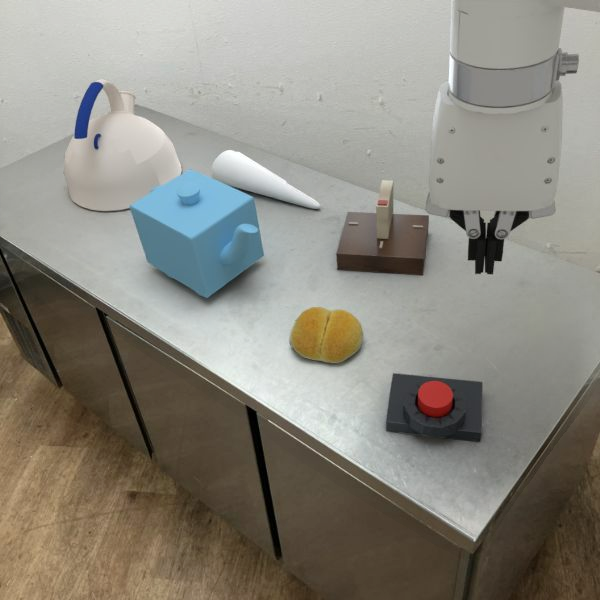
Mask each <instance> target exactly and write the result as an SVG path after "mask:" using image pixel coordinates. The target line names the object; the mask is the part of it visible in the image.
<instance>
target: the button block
mask: <svg viewBox="0 0 600 600" xmlns="http://www.w3.org/2000/svg"><path fill="white" fill-rule="evenodd" d="M429 381H439V382H443V383H445V384H446V385H448V386H449V387H450V388H451V390H452V392H453V401H452V408H451V411H450V412H449V413H448V414H447V415H445V416H443V417H439V418H433V417H429V416H427V415H425V414H423V413H422V412H421V411H420V409H419V407H418V391H419V388H420V387H421V386H422V385H423V384H424V383H426V382H429ZM385 418H386V419H385V431H386V432H392V433H399V434H409V435H415V436H416V435H417V436H422V437H423V436H424V437H431V438H438V439H450V440H459V441H466V442H467V441H468V442H475V443H480V442H481V439H482V432H483V426H482V425H483V381H477V380H466V379H457V378H446V377H435V376H425V375H415V374H406V373H392V376H391V383H390V390H389V398H388V405H387V412H386V417H385Z"/></svg>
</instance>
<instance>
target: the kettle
mask: <svg viewBox="0 0 600 600" xmlns="http://www.w3.org/2000/svg"><path fill="white" fill-rule="evenodd" d="M102 90H103V91H104V92H105V95H106V97H107V99H108V102H109V107H110V111H109V112H107V113H105V114H101V115H98V116H96V117H94V118H92V119H90V118H91V114H92V111H93V108H94V106H95V102H96V100H97V99H98V96H99V94H100V93H101V91H102ZM136 98H137V97H136V96H135V94H134V93H132V92H131V91H128V90H120V91H119V88H118V87H117V86H116V85H115V84H114V82H112V81H110V80H107V79H105V78H100V79H97V80H95V81H94V82H91V83H90V84H89V86H88V87H87V88H86V90H85V92H84V95H83V97H82V99H81V101H80V105H79V107H78V109H77V114H76V119H75V125H74V134H73V136H72V138H71V139H70V141H69V144H68V146H67V148H66V149H65V152H64V160H63V161H64V164H63V176H64V180H65V183H66V187H67V191H68V195H69V197H70V199H71V201H72V202H74V203H75V204H77V205H78V206H79V207H82V208H83V209H84V208H85V209H88V210H91V211H96V212H117V211H119V212H120V211H125V210H130V207H129V206H130V205H131V204H133V203H134V202H136V201H138V200H140V199H141V198H143V197H144V196H146V195H148V194H149V193H150V191H151V190H152V189H153V188H154V187H156V186H159V185H164V184H166V183H168V182H169V181H171V180H173V179H174V178H176V177H178V176H180V175H181V174H182V171H183V169H182V164H181V161H180V160H179V156H178V155H177V152H176V149H175V146H174V143H173V142H172V140H171V139H170V138H169V137H168V136H167V134H166V133H165V132H164V131H163V129H161V127H159V126H158V125H156V124H155V123H153V122H152V121H150V120H149V119H146V118H145V117H143V116H139V115H135V106H136V105H135V104H136V103H135V100H136Z"/></svg>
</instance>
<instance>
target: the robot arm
mask: <svg viewBox="0 0 600 600" xmlns="http://www.w3.org/2000/svg"><path fill="white" fill-rule="evenodd" d="M450 1H451V2H450V4H451V5H450V30H449V31H450V34H449V61H448V62H449V63H448V65H449V66H448V79H447V80H446V81H444V82H442V83H441V84H440V86H439V88H438V92H437V96H436V100H435V105H434V109H433V110H434V111H433V118H432V125H431V139H430V153H429V173H428V194H427V197H426V202H425V212H426V213H427V214H428V215H432V216H437V217H442V218H450V220H451V221H452V222H454V223H455V224H456V225H457V226H459V227H460V228H461V229H462V230H464V231H465V234H466V237H467V238H468V243H467V244H468V245H467V261H472V262H473V261H474V274H475V275H482V274H483V273H485V274H486V275H494V270H495V262H502V261H503V253H504V245H505V240H506V239H508V237H510V233H511V232H512V231H513V230H514V229H516V228H518V227H519V226H521V225H522V224H524V223H525V222H527V221H528V220H529V219H532V220H533V219H539V218H545V217H550V216H553V215H555V213H556V211H557V210H556V202H555V198H556V195H557V191H558V184H559V176H560V169H561V168H560V167H561V155H562V146H563V145H562V144H563V116H564V114H563V112H564V111H563V108H564V105H563V104H564V98H563V88H562V83H561V81H560V77H566V75H568V74H569V75H570V74H571V75H572V74H577V73H578V69H579V61H580V60H579V59H580V55H579V54H578V53H568V52H567V51H566V52H563V49H562V48H561V47H560V42H561V33H562V27H563V21H564V15H565V8H568V9H575V10H582V11H588V12H595V13H600V0H450ZM481 211H482V212H483V211H484V212H494V213H493V217H491V218H490V219H489V222H485V219H484V218H483V217H482V216H481V215H482V214H481Z"/></svg>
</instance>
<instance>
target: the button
mask: <svg viewBox="0 0 600 600" xmlns="http://www.w3.org/2000/svg"><path fill="white" fill-rule="evenodd" d="M452 401H453V392H452V390H451V388H450V387H449V386H448V385H446V384H445V383H443V382H439V381H429V382H426V383H424V384H423V385H422V386H421V387H420V388H419V391H418V407H419V409H420V411H421V412H422V413H423V414H425V415H427V416H429V417H433V418H439V417H443V416H445V415H447V414H448V413H449V412H450V411H451V408H452Z"/></svg>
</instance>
